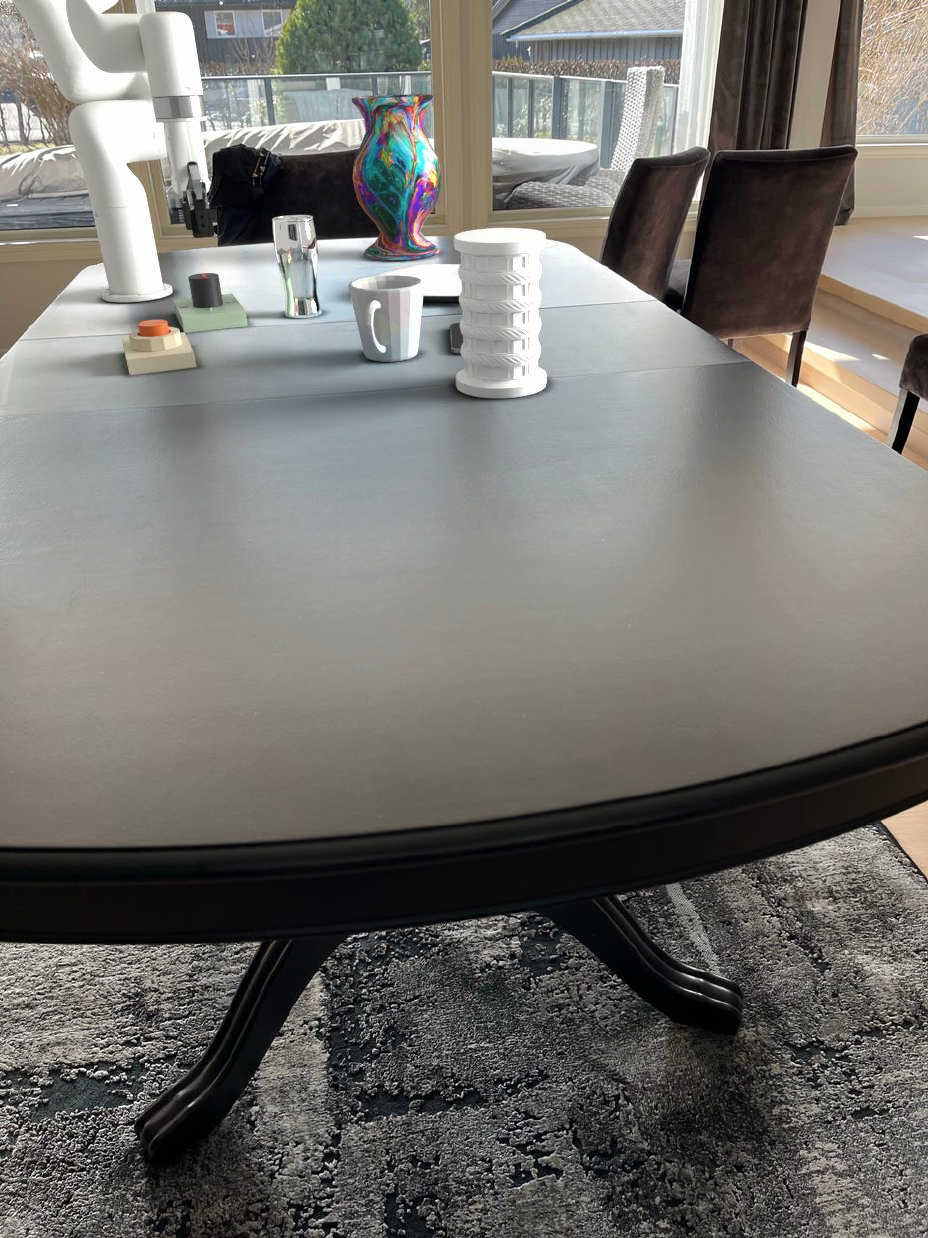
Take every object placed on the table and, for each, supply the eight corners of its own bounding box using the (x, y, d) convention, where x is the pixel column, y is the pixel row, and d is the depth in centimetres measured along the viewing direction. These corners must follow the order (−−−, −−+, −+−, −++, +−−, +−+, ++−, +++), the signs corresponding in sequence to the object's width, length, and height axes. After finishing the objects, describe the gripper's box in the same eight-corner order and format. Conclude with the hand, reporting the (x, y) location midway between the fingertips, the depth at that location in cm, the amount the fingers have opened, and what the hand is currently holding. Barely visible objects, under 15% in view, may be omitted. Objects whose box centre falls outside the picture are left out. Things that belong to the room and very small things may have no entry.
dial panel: (175, 314, 161) (172, 298, 159) (234, 308, 163) (232, 292, 162) (184, 333, 149) (181, 315, 148) (247, 325, 152) (245, 309, 151)
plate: (341, 301, 165) (340, 289, 164) (406, 271, 187) (405, 261, 186) (484, 310, 156) (483, 298, 155) (535, 278, 178) (535, 267, 177)
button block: (125, 354, 139) (119, 326, 137) (187, 346, 142) (182, 319, 140) (129, 375, 129) (123, 346, 127) (196, 367, 132) (191, 338, 130)
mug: (435, 346, 138) (432, 274, 133) (409, 375, 126) (404, 298, 120) (366, 344, 140) (361, 273, 135) (334, 373, 127) (327, 297, 122)
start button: (139, 333, 135) (136, 321, 134) (168, 330, 136) (165, 318, 135) (141, 340, 132) (138, 327, 131) (170, 336, 133) (168, 324, 132)
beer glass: (316, 319, 155) (305, 220, 147) (276, 318, 156) (263, 221, 148) (329, 309, 160) (320, 214, 153) (291, 308, 162) (280, 214, 154)
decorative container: (438, 390, 119) (431, 239, 110) (485, 367, 128) (482, 225, 119) (518, 403, 114) (518, 245, 105) (561, 378, 122) (565, 230, 113)
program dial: (191, 302, 156) (186, 272, 154) (220, 299, 158) (216, 269, 155) (194, 308, 152) (189, 277, 150) (224, 305, 154) (220, 274, 151)
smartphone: (451, 349, 133) (449, 322, 146) (451, 354, 134) (449, 327, 147) (505, 347, 133) (499, 320, 146) (505, 352, 134) (499, 325, 147)
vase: (457, 249, 207) (453, 93, 192) (420, 264, 193) (412, 97, 178) (384, 245, 214) (374, 94, 198) (343, 260, 200) (328, 98, 184)
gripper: (149, 110, 146) (170, 228, 155) (158, 113, 132) (181, 242, 141) (198, 107, 149) (216, 224, 157) (212, 110, 135) (232, 238, 143)
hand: (200, 232), depth 149 cm, fingers open, 9 cm apart
